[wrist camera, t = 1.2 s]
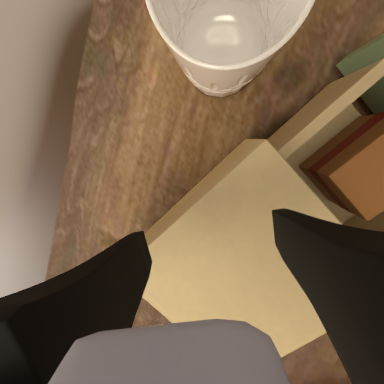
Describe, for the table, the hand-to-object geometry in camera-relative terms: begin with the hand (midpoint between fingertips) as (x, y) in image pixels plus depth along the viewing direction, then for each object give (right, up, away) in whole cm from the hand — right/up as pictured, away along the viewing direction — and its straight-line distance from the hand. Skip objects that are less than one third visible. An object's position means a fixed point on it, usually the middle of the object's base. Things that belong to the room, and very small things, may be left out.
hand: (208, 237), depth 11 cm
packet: (+12, +5, +6) cm, 15 cm away
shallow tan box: (+4, -2, +11) cm, 12 cm away
